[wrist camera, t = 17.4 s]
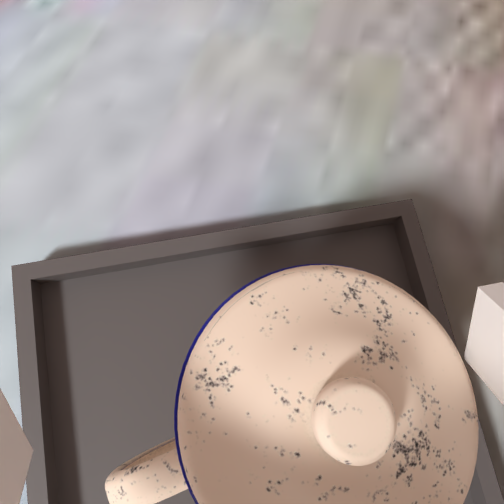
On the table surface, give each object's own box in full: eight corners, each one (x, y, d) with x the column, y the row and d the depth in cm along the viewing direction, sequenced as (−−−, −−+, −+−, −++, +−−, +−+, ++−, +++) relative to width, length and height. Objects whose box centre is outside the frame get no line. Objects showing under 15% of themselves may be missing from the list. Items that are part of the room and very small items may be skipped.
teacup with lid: (332, 277, 23) (436, 187, 12) (411, 452, 21) (623, 537, 10) (105, 367, 21) (-18, 359, 10) (170, 569, 20) (105, 833, 8)
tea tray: (398, 211, 25) (411, 199, 24) (505, 572, 21) (531, 590, 19) (27, 274, 23) (11, 265, 21) (59, 697, 19) (43, 730, 17)
